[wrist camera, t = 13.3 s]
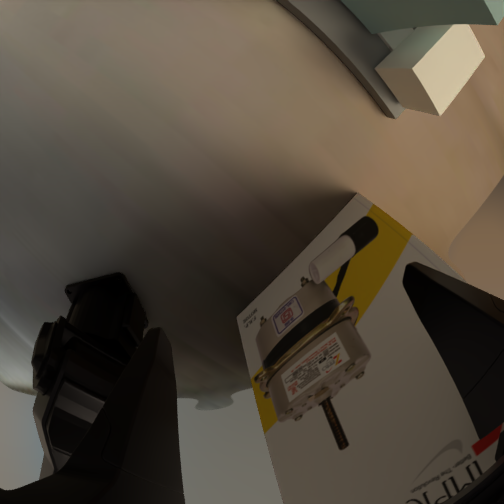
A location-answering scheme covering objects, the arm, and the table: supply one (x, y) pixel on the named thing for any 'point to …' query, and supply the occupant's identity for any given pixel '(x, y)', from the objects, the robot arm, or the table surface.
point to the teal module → (424, 13)
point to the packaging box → (358, 374)
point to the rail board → (349, 45)
